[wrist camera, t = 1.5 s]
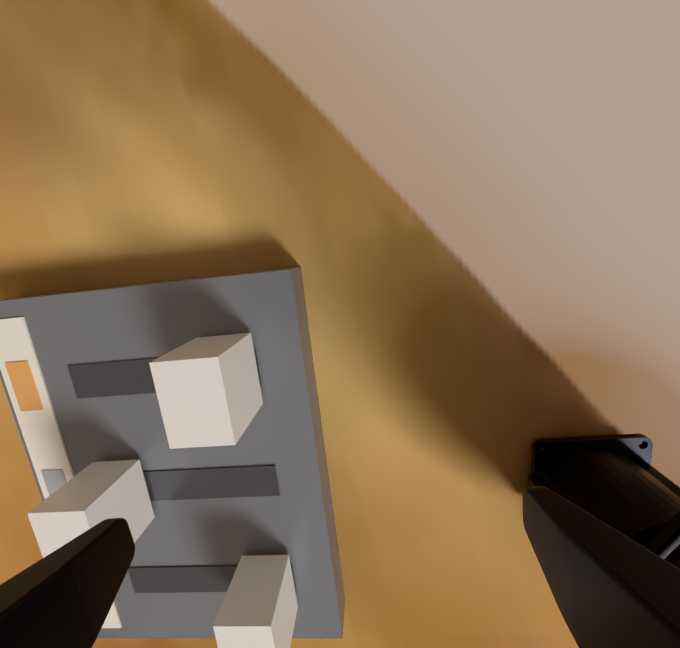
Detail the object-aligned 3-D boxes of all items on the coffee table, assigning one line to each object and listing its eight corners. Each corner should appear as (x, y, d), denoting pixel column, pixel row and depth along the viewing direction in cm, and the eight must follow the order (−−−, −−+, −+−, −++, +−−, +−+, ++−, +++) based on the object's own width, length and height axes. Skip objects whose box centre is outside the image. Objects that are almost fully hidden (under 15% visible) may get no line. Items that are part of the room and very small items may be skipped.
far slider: (288, 554, 21) (270, 626, 17) (297, 606, 21) (282, 686, 18) (241, 555, 21) (212, 626, 17) (252, 607, 22) (227, 685, 18)
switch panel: (300, 266, 19) (290, 269, 17) (344, 599, 25) (342, 641, 22) (19, 297, 21) (-29, 304, 19) (115, 601, 26) (87, 640, 24)
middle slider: (139, 459, 20) (84, 511, 16) (154, 517, 21) (105, 579, 17) (92, 461, 20) (27, 513, 16) (109, 518, 21) (51, 580, 17)
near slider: (251, 332, 18) (218, 356, 14) (263, 403, 18) (235, 445, 15) (196, 337, 18) (149, 362, 14) (210, 407, 19) (170, 448, 15)
